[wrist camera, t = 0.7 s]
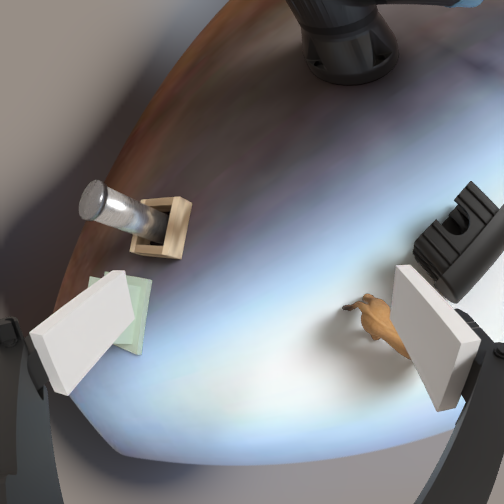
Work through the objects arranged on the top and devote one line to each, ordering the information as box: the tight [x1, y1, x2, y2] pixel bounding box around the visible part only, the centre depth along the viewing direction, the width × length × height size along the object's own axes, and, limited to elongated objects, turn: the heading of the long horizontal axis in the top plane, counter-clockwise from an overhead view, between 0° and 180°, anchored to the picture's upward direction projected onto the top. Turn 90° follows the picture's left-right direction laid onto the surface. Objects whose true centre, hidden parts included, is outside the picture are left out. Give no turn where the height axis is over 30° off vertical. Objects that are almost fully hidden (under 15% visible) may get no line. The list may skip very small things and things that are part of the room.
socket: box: [88, 272, 152, 355], centre depth 46 cm, size 12×12×5 cm
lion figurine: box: [342, 294, 411, 360], centre depth 25 cm, size 15×5×9 cm, turn 65°
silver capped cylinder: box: [79, 180, 170, 245], centre depth 41 cm, size 5×5×15 cm
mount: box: [130, 197, 192, 259], centre depth 46 cm, size 9×9×3 cm
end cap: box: [413, 181, 504, 304], centre depth 25 cm, size 10×7×7 cm
